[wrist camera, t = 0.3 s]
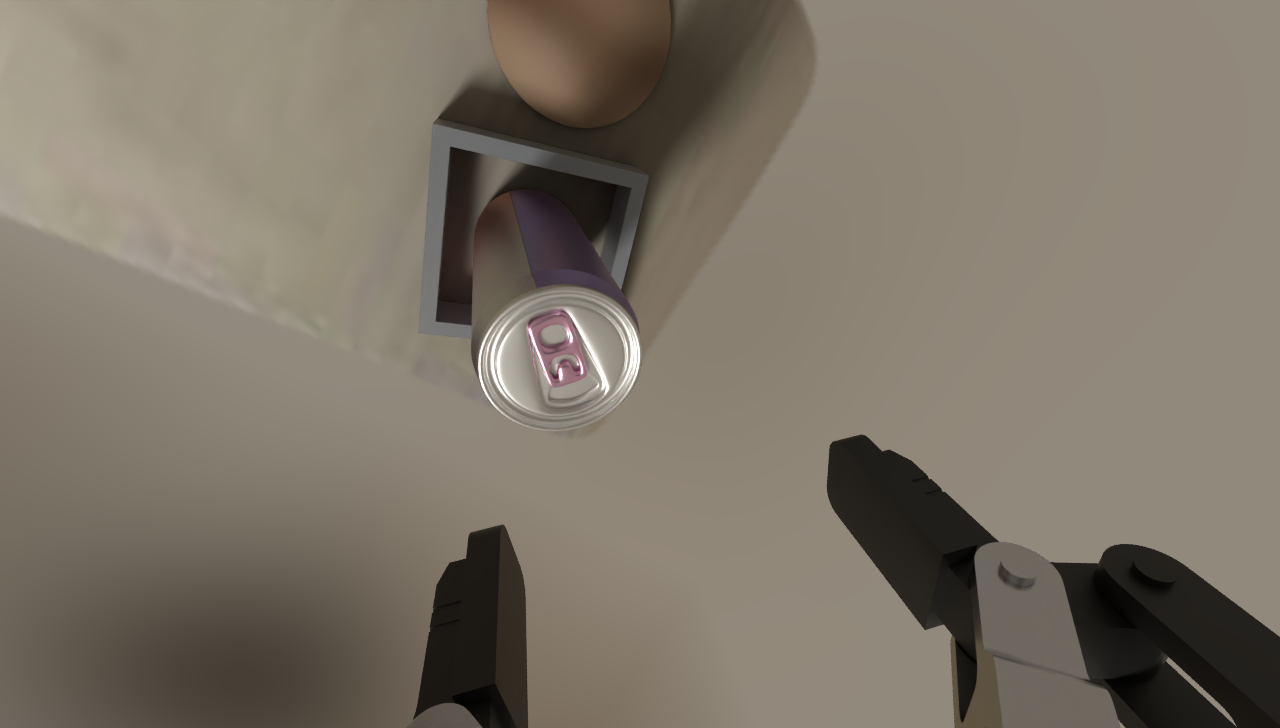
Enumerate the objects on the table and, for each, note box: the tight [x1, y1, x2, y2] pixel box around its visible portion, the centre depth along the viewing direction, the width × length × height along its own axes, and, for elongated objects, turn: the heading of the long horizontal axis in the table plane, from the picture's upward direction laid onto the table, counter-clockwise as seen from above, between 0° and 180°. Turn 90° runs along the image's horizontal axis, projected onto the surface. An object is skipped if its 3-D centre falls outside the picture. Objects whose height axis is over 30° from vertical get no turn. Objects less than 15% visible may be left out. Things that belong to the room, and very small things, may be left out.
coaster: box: [487, 0, 671, 128], centre depth 25 cm, size 9×9×1 cm
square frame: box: [419, 118, 649, 339], centre depth 28 cm, size 11×11×3 cm
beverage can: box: [471, 189, 643, 431], centre depth 23 cm, size 6×6×15 cm
